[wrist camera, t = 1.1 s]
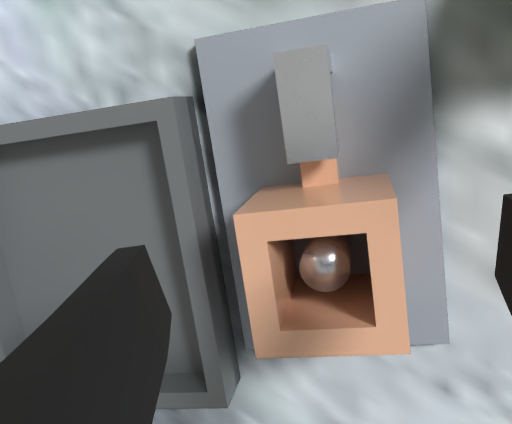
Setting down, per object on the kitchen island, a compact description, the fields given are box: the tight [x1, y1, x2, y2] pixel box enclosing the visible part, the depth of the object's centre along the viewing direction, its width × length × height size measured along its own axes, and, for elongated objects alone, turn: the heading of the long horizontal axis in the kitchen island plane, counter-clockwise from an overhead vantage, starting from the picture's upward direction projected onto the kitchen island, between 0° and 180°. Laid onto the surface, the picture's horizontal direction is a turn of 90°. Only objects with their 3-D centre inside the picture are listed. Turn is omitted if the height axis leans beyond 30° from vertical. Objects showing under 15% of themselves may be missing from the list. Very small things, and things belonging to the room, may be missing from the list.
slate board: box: [194, 0, 450, 350], centre depth 20 cm, size 14×9×1 cm, turn 9°
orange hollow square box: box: [233, 158, 411, 358], centre depth 18 cm, size 9×5×5 cm, turn 9°
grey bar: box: [273, 44, 352, 292], centre depth 18 cm, size 8×2×4 cm, turn 9°
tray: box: [0, 97, 240, 409], centre depth 22 cm, size 14×12×2 cm
